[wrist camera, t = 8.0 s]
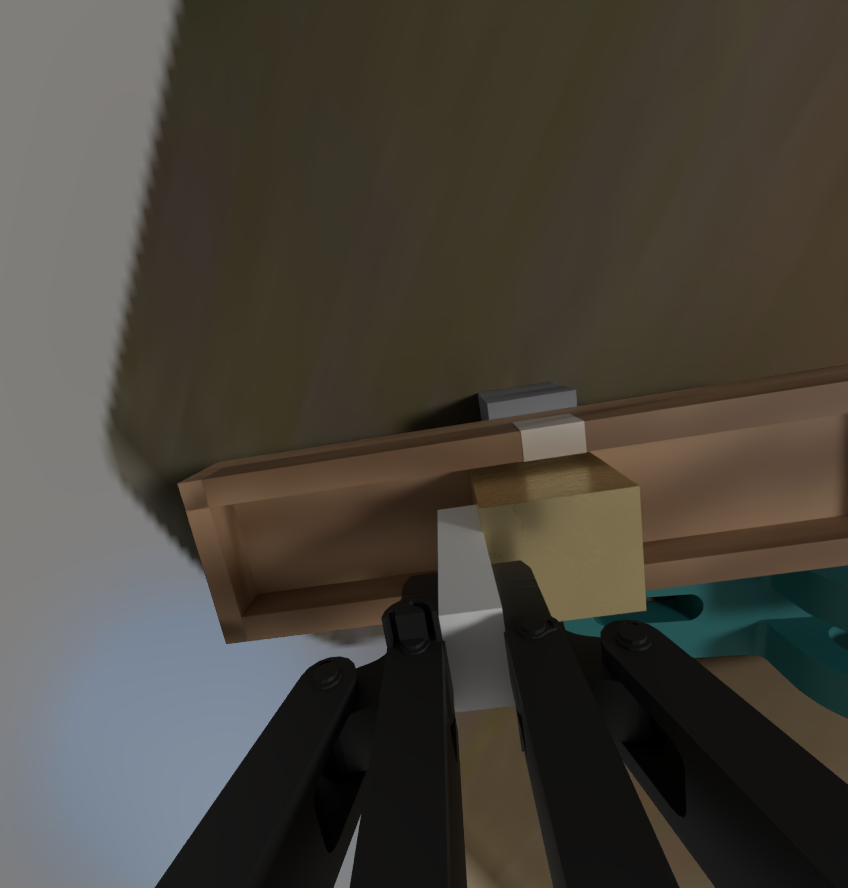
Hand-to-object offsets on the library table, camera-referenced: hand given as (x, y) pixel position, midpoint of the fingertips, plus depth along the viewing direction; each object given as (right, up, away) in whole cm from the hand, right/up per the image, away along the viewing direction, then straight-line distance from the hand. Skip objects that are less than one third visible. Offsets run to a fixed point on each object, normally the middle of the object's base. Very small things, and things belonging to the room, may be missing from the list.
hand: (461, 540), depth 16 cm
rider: (+3, +1, +2) cm, 4 cm away
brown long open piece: (+4, +3, +8) cm, 10 cm away
